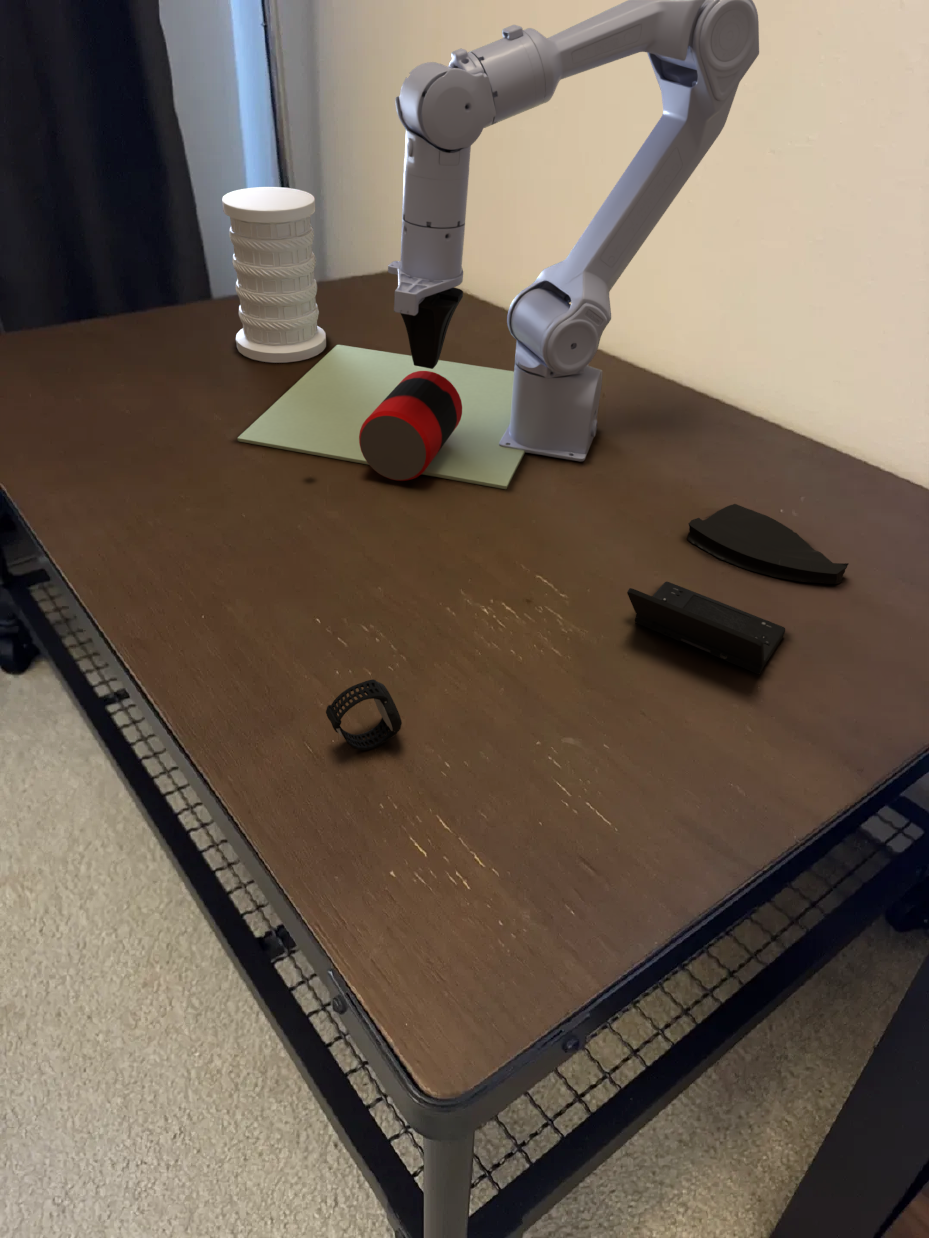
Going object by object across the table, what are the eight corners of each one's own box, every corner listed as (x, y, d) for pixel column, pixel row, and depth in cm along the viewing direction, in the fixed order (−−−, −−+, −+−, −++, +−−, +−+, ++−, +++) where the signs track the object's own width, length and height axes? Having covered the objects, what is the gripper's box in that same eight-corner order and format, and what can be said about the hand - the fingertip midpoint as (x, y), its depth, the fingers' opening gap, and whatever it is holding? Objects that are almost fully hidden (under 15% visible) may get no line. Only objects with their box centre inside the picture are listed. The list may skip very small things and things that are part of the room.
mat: (561, 381, 113) (561, 378, 113) (506, 489, 92) (506, 486, 92) (337, 347, 119) (337, 344, 119) (237, 441, 98) (237, 437, 98)
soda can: (417, 408, 86) (456, 361, 95) (347, 416, 89) (392, 370, 98) (437, 480, 90) (473, 428, 99) (370, 485, 93) (411, 434, 102)
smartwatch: (402, 759, 63) (402, 707, 60) (327, 761, 62) (323, 709, 59) (400, 717, 66) (400, 665, 63) (329, 719, 65) (325, 667, 62)
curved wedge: (806, 607, 78) (811, 592, 77) (681, 538, 86) (684, 524, 85) (856, 571, 83) (861, 557, 82) (733, 509, 90) (736, 495, 89)
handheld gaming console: (791, 605, 75) (789, 562, 66) (773, 687, 74) (768, 654, 65) (655, 582, 80) (636, 539, 71) (635, 659, 78) (614, 625, 70)
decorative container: (320, 364, 114) (310, 214, 103) (228, 361, 114) (208, 209, 103) (331, 330, 123) (323, 188, 112) (246, 326, 123) (230, 184, 112)
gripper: (417, 197, 88) (410, 334, 96) (362, 232, 77) (360, 383, 85) (487, 208, 87) (474, 346, 95) (442, 245, 75) (432, 398, 84)
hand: (425, 365), depth 90 cm, fingers closed
